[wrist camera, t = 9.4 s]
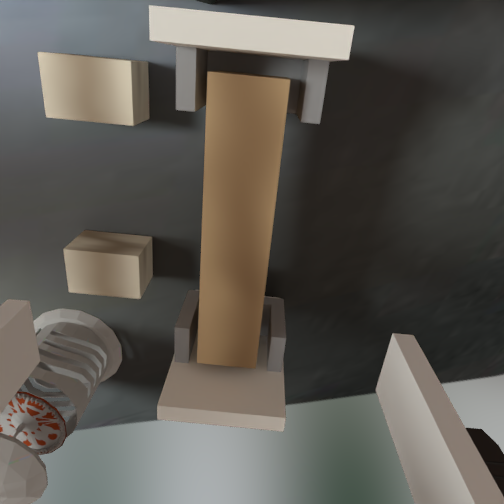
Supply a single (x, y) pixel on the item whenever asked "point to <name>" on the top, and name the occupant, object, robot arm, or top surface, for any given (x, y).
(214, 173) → the rail
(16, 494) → the french press
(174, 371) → the brackets
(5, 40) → the top surface
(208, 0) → the wine bottle
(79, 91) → the spacers
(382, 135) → the top surface
